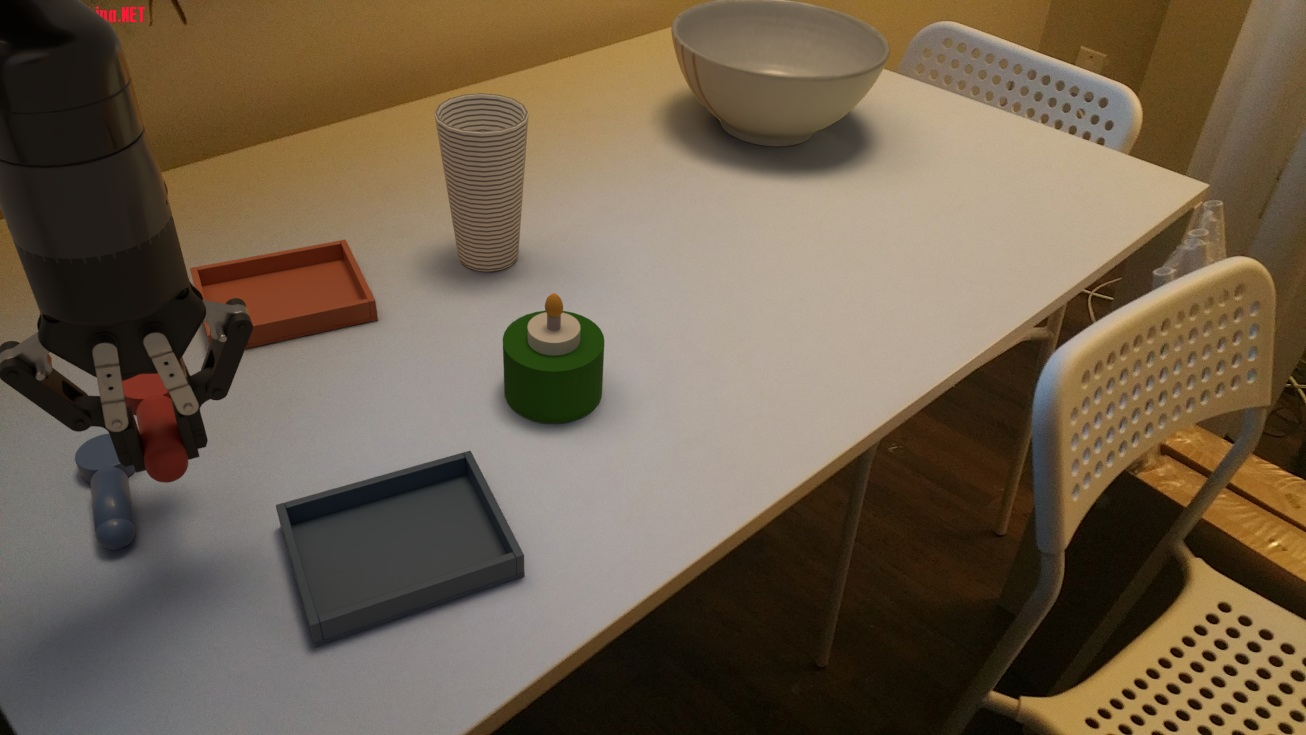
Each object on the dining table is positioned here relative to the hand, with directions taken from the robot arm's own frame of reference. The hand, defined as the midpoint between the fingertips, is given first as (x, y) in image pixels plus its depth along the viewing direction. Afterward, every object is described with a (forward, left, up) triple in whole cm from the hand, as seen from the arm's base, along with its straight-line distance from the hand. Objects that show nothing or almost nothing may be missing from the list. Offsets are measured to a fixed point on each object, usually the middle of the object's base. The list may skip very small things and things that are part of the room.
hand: (167, 455), depth 62 cm
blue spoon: (-5, +8, -9) cm, 13 cm away
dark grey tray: (+13, -5, -9) cm, 16 cm away
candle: (+29, +7, -10) cm, 31 cm away
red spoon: (0, +3, 0) cm, 3 cm away
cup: (+31, +29, -10) cm, 43 cm away
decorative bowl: (+75, +46, -10) cm, 88 cm away
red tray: (+11, +28, -9) cm, 31 cm away
